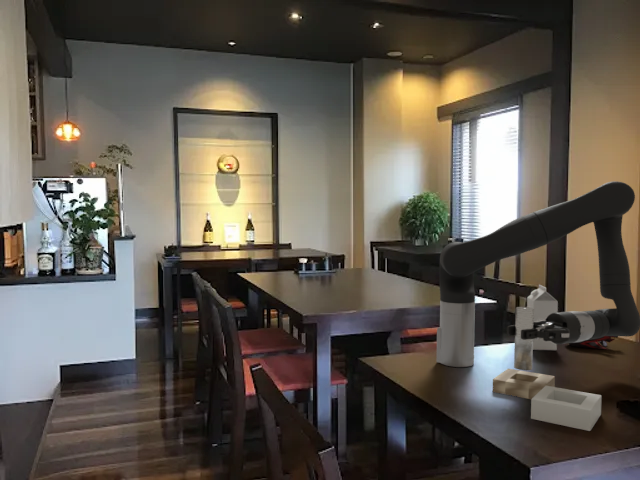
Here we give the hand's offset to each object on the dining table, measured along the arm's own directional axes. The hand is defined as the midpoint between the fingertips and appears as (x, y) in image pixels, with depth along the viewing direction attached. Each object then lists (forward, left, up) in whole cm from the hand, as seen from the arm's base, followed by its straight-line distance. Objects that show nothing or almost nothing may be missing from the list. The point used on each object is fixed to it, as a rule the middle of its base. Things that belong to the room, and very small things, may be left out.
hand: (515, 332), depth 131 cm
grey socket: (+14, -10, -14) cm, 22 cm away
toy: (+6, +57, -14) cm, 59 cm away
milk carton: (-6, +47, -14) cm, 50 cm away
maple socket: (+2, +2, -14) cm, 14 cm away
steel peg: (+1, +2, -9) cm, 9 cm away
